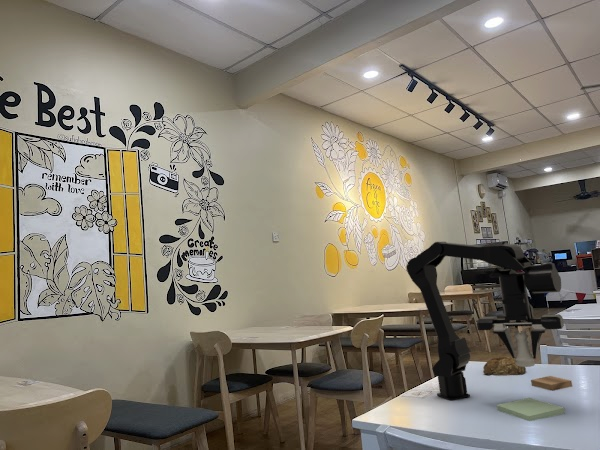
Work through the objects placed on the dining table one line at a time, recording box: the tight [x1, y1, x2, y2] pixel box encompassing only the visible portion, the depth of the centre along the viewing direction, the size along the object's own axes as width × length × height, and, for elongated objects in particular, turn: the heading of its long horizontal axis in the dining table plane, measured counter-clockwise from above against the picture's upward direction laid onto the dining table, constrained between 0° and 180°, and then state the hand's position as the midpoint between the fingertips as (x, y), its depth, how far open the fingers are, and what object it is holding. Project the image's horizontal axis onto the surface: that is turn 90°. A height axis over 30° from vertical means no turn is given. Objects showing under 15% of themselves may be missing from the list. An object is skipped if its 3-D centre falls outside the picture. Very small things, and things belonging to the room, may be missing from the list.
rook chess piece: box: [513, 330, 536, 368], centre depth 108 cm, size 4×4×8 cm
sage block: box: [496, 397, 566, 422], centre depth 103 cm, size 10×10×2 cm
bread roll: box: [482, 356, 527, 377], centre depth 144 cm, size 13×12×5 cm
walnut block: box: [530, 375, 573, 391], centre depth 122 cm, size 7×7×2 cm
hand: (524, 358), depth 107 cm, fingers closed on rook chess piece, 4 cm apart
